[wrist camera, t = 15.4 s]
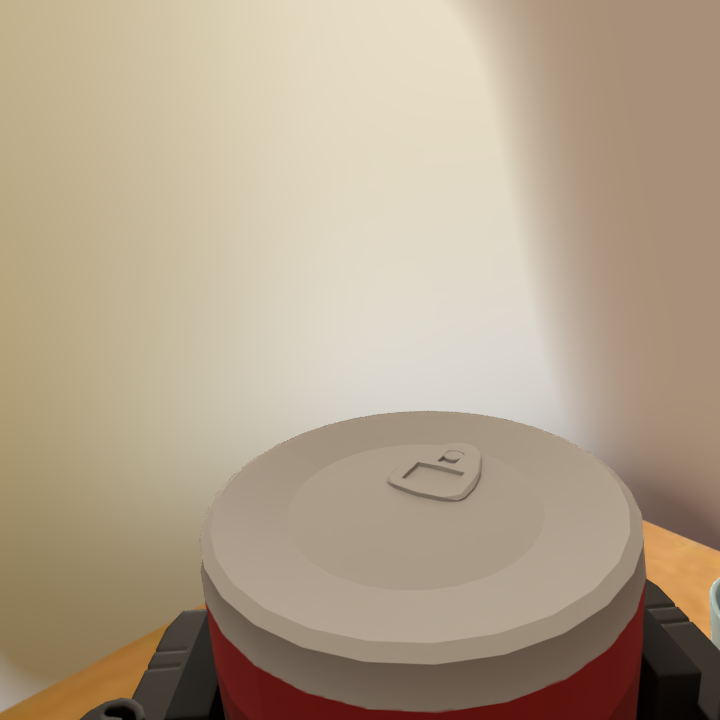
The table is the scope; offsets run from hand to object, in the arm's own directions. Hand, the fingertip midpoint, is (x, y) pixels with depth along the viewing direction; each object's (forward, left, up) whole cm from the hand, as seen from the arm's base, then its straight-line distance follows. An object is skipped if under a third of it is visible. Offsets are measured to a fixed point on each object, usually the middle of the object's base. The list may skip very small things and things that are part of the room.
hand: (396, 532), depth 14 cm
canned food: (0, -5, -7) cm, 8 cm away
